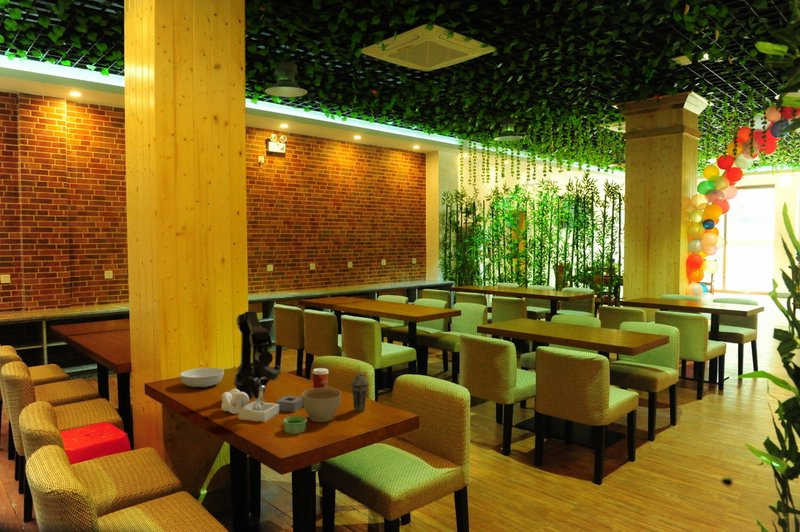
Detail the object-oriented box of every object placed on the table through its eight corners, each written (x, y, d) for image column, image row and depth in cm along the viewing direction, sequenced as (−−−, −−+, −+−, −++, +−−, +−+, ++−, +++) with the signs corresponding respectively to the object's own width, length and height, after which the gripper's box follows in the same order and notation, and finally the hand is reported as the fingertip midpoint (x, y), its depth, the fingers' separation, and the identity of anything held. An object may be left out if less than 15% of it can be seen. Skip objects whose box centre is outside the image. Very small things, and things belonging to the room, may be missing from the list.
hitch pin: (251, 411, 225) (251, 386, 224) (257, 408, 229) (257, 383, 229) (261, 412, 224) (261, 387, 223) (267, 409, 228) (267, 384, 228)
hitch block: (275, 410, 235) (275, 401, 235) (285, 404, 244) (285, 395, 244) (294, 412, 233) (294, 403, 232) (303, 406, 241) (303, 397, 241)
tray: (238, 419, 222) (238, 409, 222) (254, 410, 234) (254, 401, 234) (264, 422, 219) (264, 412, 219) (279, 413, 231) (279, 404, 231)
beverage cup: (370, 408, 239) (370, 364, 238) (363, 413, 232) (364, 367, 231) (355, 407, 242) (355, 362, 241) (348, 411, 235) (348, 366, 234)
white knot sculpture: (213, 411, 232) (213, 390, 232) (237, 405, 241) (237, 385, 241) (227, 417, 225) (227, 396, 224) (252, 410, 234) (252, 390, 233)
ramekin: (285, 436, 204) (285, 424, 204) (281, 428, 212) (281, 417, 212) (309, 433, 208) (309, 422, 208) (303, 425, 216) (303, 415, 216)
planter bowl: (293, 419, 223) (293, 393, 223) (322, 410, 236) (323, 385, 235) (319, 428, 213) (319, 401, 213) (348, 418, 225) (349, 392, 225)
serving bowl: (207, 378, 288) (207, 365, 287) (232, 384, 275) (232, 371, 275) (171, 386, 271) (171, 372, 271) (196, 393, 259) (196, 379, 258)
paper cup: (325, 402, 248) (325, 372, 247) (309, 400, 250) (309, 370, 249) (330, 397, 256) (331, 368, 255) (315, 396, 257) (315, 367, 257)
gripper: (265, 366, 214) (265, 405, 215) (287, 357, 232) (287, 393, 233) (240, 364, 217) (240, 402, 218) (264, 355, 235) (264, 390, 236)
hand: (259, 397), depth 226 cm, fingers closed on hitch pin, 4 cm apart
